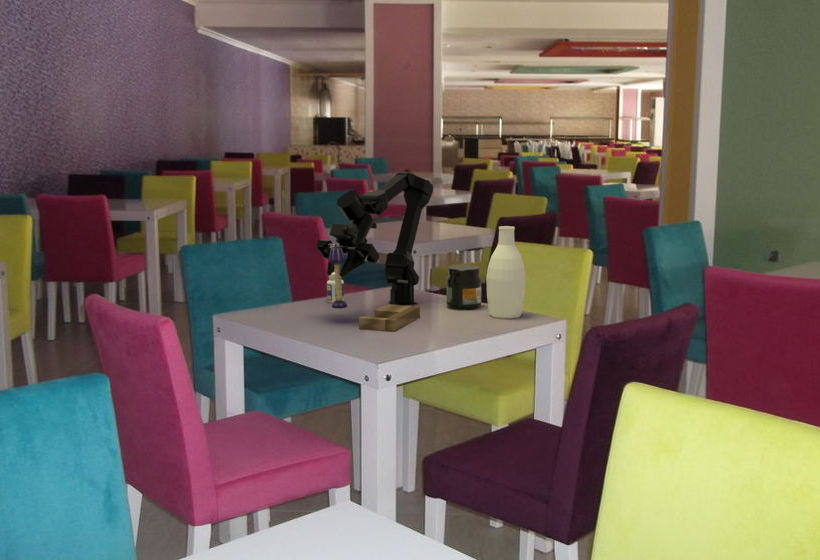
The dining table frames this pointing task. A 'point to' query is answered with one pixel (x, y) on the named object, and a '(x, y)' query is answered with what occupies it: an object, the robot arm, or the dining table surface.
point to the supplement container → (463, 287)
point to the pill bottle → (333, 288)
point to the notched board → (390, 318)
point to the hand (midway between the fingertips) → (334, 275)
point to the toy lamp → (337, 275)
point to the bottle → (506, 278)
